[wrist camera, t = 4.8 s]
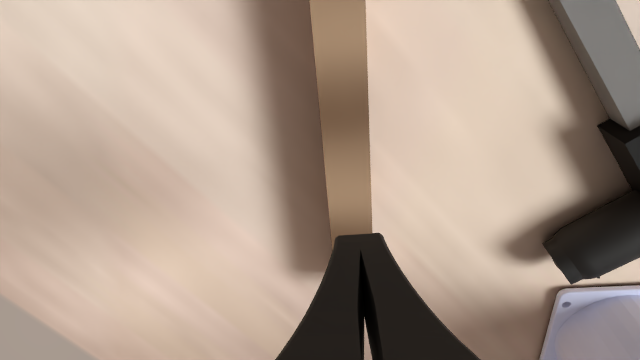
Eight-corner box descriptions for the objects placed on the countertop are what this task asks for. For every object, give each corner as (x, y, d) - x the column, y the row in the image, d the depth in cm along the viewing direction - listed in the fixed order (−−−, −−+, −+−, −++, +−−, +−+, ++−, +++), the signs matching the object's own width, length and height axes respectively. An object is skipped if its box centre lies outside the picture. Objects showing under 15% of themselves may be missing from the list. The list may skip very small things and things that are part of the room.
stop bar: (370, 270, 25) (374, 308, 23) (337, 271, 26) (337, 309, 23) (353, -214, 14) (358, -248, 12) (295, -208, 15) (287, -239, 12)
